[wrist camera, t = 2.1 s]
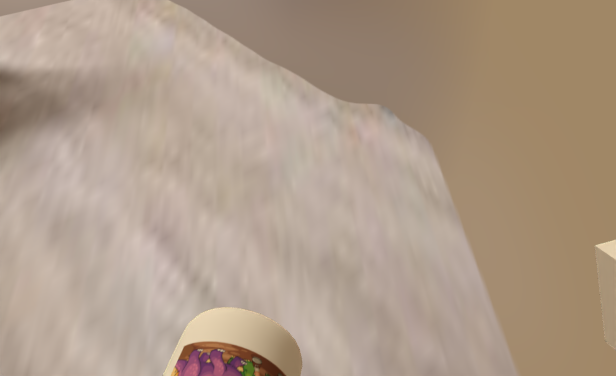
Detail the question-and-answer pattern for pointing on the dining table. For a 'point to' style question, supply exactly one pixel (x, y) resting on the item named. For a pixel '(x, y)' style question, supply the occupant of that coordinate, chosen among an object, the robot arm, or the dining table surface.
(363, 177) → the dining table surface
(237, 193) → the dining table surface
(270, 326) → the milk bottle
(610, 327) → the robot arm
